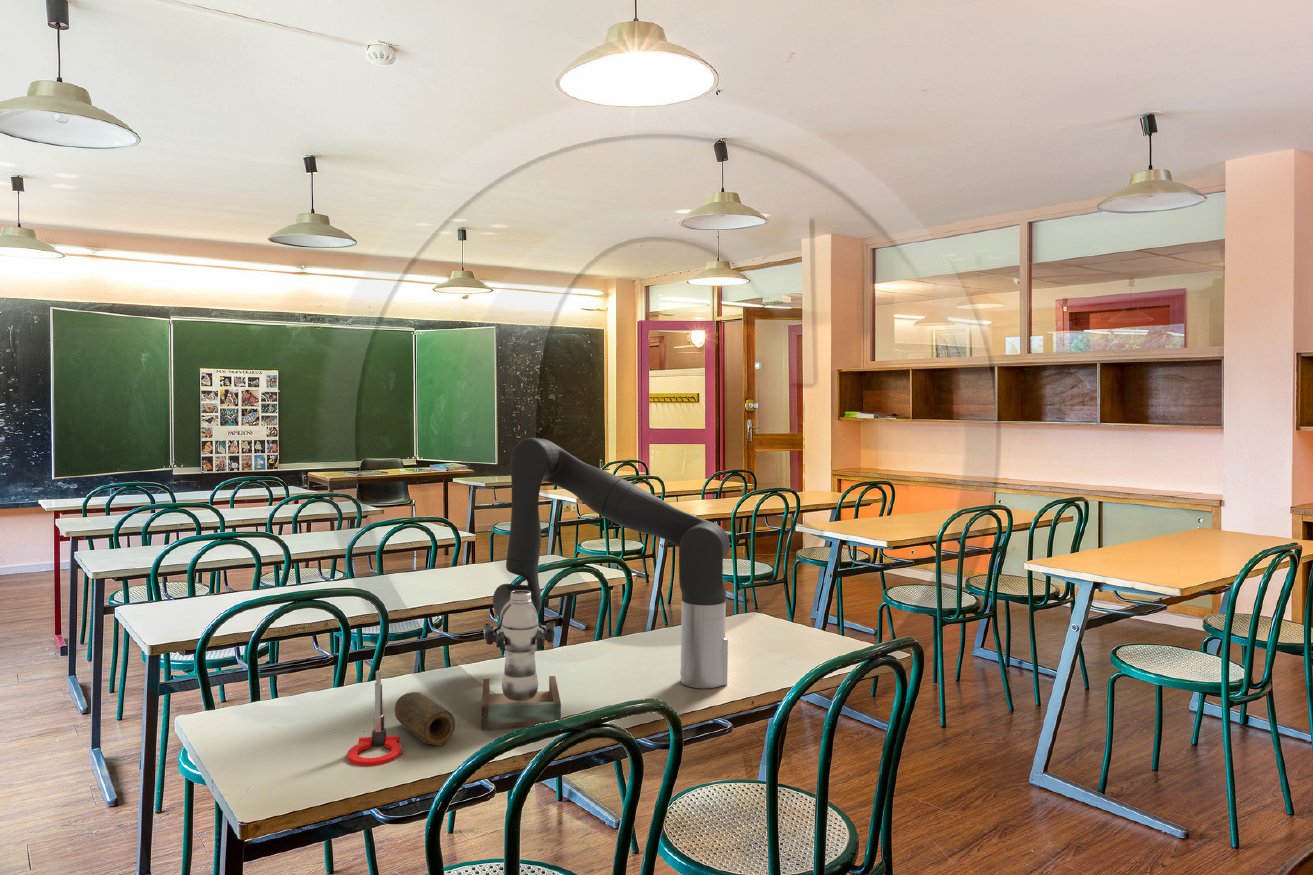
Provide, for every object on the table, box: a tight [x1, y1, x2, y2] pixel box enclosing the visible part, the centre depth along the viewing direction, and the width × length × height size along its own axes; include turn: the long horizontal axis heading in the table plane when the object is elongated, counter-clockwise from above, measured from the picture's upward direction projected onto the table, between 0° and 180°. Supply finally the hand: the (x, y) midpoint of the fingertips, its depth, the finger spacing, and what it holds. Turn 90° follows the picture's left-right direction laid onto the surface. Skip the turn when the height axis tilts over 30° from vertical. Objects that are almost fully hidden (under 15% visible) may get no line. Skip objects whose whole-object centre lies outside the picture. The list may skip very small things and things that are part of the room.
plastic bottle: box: [501, 590, 539, 701], centre depth 159 cm, size 6×7×20 cm
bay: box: [480, 675, 562, 731], centre depth 161 cm, size 14×16×4 cm
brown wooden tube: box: [394, 691, 456, 746], centre depth 149 cm, size 15×7×7 cm, turn 41°
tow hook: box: [346, 670, 402, 767], centre depth 141 cm, size 8×13×9 cm
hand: (520, 643), depth 156 cm, fingers closed on plastic bottle, 6 cm apart
